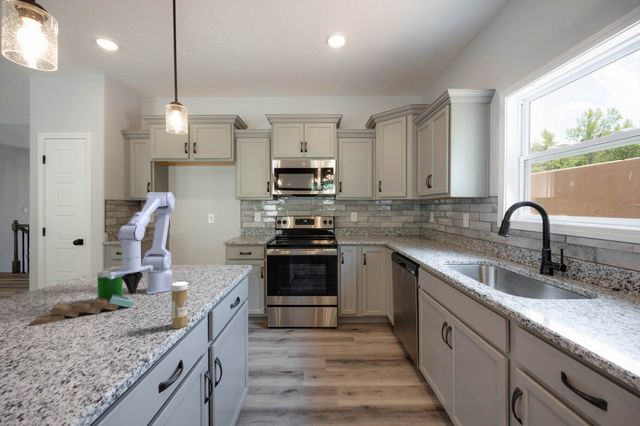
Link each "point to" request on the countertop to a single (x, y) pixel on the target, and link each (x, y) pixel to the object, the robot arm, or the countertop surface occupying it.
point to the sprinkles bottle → (179, 304)
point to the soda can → (109, 285)
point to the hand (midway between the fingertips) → (132, 293)
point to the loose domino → (121, 301)
